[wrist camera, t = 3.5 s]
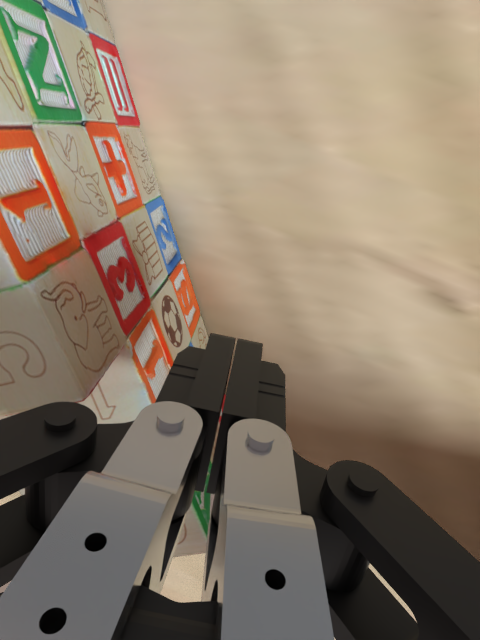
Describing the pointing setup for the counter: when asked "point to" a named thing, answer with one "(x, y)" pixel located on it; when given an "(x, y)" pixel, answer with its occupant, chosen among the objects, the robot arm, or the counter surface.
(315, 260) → the counter surface
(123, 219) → the stack of blocks
